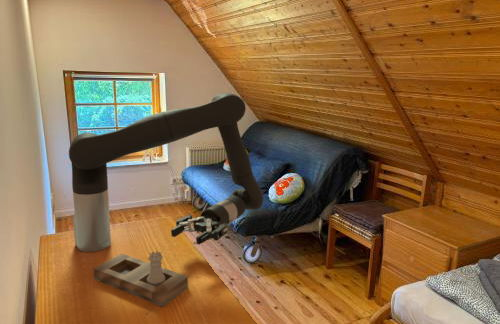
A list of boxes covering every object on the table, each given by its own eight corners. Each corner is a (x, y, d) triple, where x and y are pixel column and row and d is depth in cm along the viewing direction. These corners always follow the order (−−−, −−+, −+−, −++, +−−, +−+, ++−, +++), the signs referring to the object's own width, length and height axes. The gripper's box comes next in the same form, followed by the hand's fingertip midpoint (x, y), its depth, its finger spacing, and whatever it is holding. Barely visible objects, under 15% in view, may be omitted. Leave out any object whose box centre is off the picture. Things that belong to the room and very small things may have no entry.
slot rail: (94, 279, 91) (93, 268, 90) (122, 263, 99) (121, 253, 98) (163, 307, 81) (162, 295, 80) (187, 287, 89) (187, 276, 88)
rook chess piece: (161, 290, 85) (160, 259, 83) (143, 288, 86) (142, 257, 84) (168, 280, 89) (168, 250, 87) (151, 278, 90) (151, 248, 88)
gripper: (200, 199, 112) (163, 218, 99) (239, 208, 105) (205, 230, 92) (201, 222, 114) (165, 243, 101) (240, 232, 107) (206, 256, 94)
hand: (184, 237), depth 96 cm, fingers open, 8 cm apart
